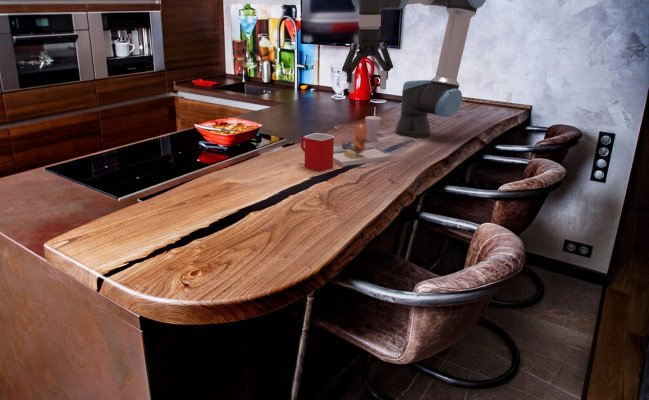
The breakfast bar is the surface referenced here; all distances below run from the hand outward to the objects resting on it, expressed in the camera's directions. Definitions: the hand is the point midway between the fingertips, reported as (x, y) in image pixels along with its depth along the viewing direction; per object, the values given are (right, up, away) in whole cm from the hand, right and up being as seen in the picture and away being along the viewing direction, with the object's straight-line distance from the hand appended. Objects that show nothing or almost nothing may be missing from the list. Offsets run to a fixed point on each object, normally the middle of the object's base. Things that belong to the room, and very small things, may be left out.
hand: (367, 90), depth 176 cm
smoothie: (+4, -15, +28) cm, 32 cm away
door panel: (-3, -24, +2) cm, 25 cm away
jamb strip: (-7, -22, +9) cm, 24 cm away
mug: (-19, -28, -6) cm, 34 cm away
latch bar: (-5, -21, +3) cm, 22 cm away
